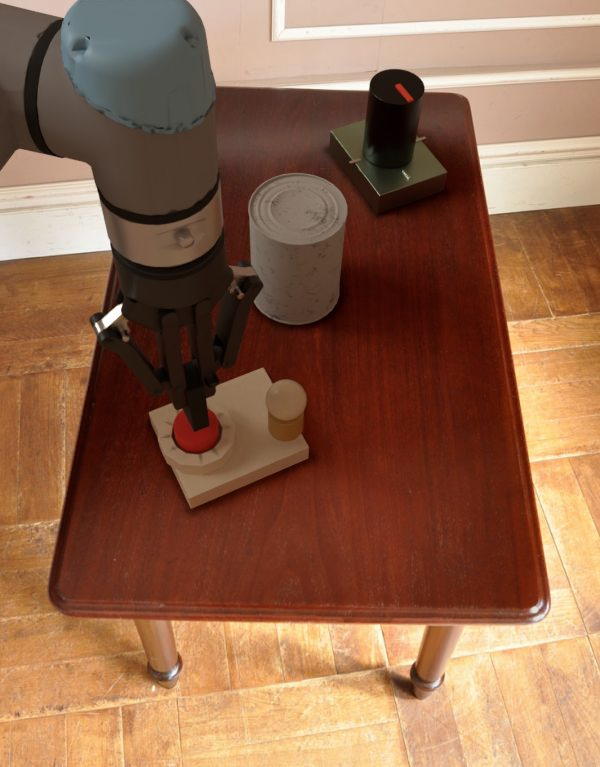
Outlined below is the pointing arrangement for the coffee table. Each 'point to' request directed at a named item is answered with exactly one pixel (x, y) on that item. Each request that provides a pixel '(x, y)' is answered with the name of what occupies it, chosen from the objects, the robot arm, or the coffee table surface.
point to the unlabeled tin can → (297, 246)
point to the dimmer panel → (386, 171)
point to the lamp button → (196, 433)
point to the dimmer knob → (392, 117)
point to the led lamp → (285, 409)
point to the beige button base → (229, 442)
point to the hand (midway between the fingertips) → (196, 417)
